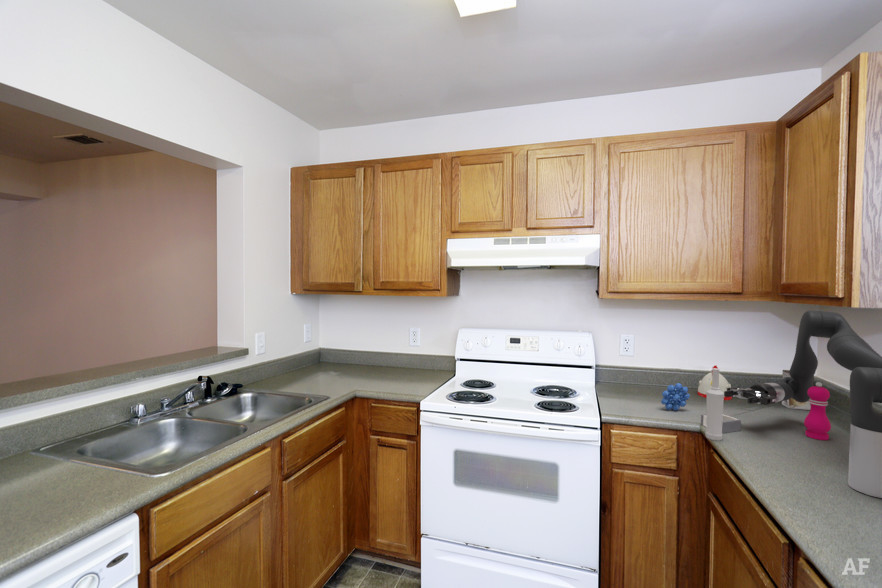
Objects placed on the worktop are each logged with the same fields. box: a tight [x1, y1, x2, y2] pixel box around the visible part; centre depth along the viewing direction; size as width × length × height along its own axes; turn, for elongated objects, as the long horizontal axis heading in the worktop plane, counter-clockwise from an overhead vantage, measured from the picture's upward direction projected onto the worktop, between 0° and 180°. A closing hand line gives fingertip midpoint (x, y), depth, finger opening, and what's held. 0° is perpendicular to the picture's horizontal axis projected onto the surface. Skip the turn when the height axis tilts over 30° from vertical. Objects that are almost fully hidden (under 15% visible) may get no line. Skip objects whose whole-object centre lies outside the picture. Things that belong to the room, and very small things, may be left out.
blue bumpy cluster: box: [660, 382, 691, 411], centre depth 178 cm, size 12×7×12 cm, turn 84°
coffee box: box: [781, 369, 815, 411], centre depth 182 cm, size 9×6×16 cm
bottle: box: [704, 367, 725, 442], centre depth 146 cm, size 5×5×25 cm
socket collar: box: [700, 413, 742, 434], centre depth 156 cm, size 9×9×4 cm
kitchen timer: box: [697, 364, 733, 401], centre depth 199 cm, size 14×14×15 cm
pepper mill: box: [803, 381, 832, 441], centre depth 147 cm, size 7×7×20 cm
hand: (736, 397), depth 150 cm, fingers open, 8 cm apart
